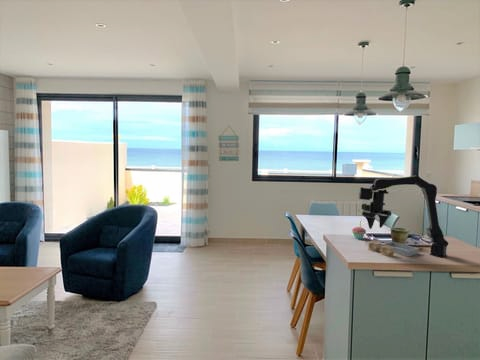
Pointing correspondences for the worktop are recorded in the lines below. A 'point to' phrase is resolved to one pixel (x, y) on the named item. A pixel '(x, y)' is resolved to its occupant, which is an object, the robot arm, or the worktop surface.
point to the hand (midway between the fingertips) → (375, 228)
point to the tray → (402, 249)
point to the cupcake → (359, 232)
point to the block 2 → (387, 251)
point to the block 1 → (374, 246)
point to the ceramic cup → (399, 235)
